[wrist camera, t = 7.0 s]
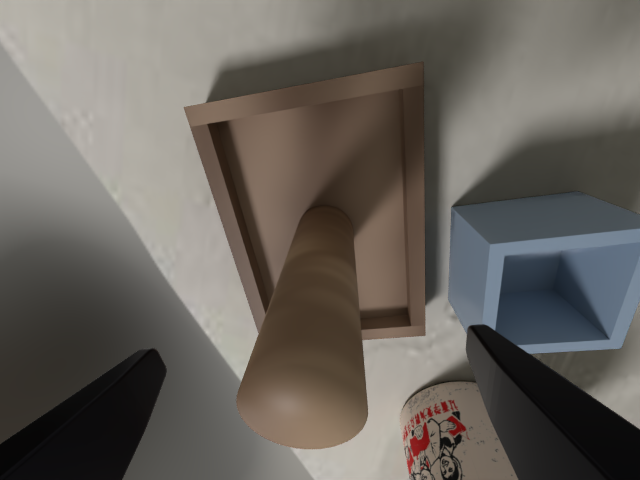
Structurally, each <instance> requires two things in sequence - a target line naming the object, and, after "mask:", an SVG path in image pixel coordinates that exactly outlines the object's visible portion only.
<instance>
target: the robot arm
mask: <svg viewBox="0 0 640 480" xmlns="http://www.w3.org/2000/svg"><path fill="white" fill-rule="evenodd" d="M466 353H467V357H468V360H469V363H470V365H471V368H472V371H473V374H474V377H475V380H476V382H477V385H478V388H479V391H480V394H481V397H482V399H483V402H484V405H485V408H486V410H487V413H488V416H489V418H490V420H491V423H492V425H493V427H494V429H495V431H496V434H497V436H498V438H499V440H500V442H501V444H502V446H503V448H504V450H505V453H506V455H507V457H508V459H509V461H510V463H511V465H512V467H513V469H514V472H515V474H516V476H517V478H518V480H640V429H639V428H637V427H636V426H634V425H633V424H631V423H630V422H628V421H627V420H625V419H624V418H623V417H621V416H620V415H618V414H617V413H615V412H614V411H612V410H611V409H609V408H608V407H606V406H605V405H603V404H602V403H601V402H599V401H598V400H596V399H595V398H593V397H592V396H590V395H589V394H587V393H586V392H584V391H583V390H581V389H580V388H579V387H577V386H576V385H574V384H573V383H571V382H570V381H568V380H567V379H565V378H564V377H562V376H561V375H560V374H558V373H557V372H555V371H554V370H552V369H551V368H549V367H548V366H546V365H545V364H543V363H542V362H540V361H539V360H538V359H536V358H535V357H533V356H532V355H530V354H529V353H527V352H526V351H524V350H523V349H521V348H520V347H518V346H517V345H516V344H514V343H513V342H511V341H510V340H508V339H507V338H505V337H504V336H502V335H501V334H499V333H498V332H496V331H495V330H494V329H492V328H491V327H489V326H488V325H485V324H477V325H470V326H468V329H467V341H466ZM166 372H167V369H166V365H165V364H164V362H163V360H162V358H161V356H160V354H159V352H158V351H157V350H156V349H155V348H146V349H141V350H139V351H137V352H136V353H134V354H133V355H131V356H130V357H128V358H127V359H125V360H124V361H122V362H121V363H119V364H118V365H116V366H115V367H113V368H112V369H110V370H109V371H107V372H106V373H104V374H103V375H102V376H100V377H99V378H97V379H96V380H94V381H93V382H91V383H90V384H88V385H87V386H85V387H84V388H82V389H81V390H80V391H78V392H76V393H75V394H74V395H72V396H71V397H69V398H68V399H66V400H65V401H63V402H62V403H60V404H59V405H57V406H56V407H54V408H53V409H51V410H50V411H48V412H47V413H45V414H44V415H43V416H41V417H39V418H38V419H36V420H35V421H34V422H32V423H31V424H29V425H28V426H26V427H25V428H23V429H22V430H20V431H19V432H17V433H16V434H14V435H13V436H11V437H10V438H8V439H7V440H5V441H4V442H2V443H1V444H0V480H122V479H123V477H124V475H125V473H126V470H127V468H128V466H129V464H130V462H131V460H132V458H133V456H134V454H135V451H136V449H137V447H138V445H139V443H140V441H141V438H142V436H143V434H144V432H145V429H146V427H147V425H148V422H149V420H150V417H151V414H152V411H153V409H154V406H155V403H156V401H157V398H158V395H159V393H160V390H161V387H162V385H163V382H164V379H165V376H166Z"/></svg>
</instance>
